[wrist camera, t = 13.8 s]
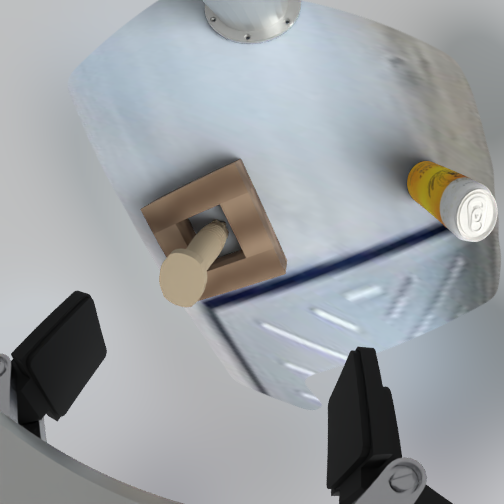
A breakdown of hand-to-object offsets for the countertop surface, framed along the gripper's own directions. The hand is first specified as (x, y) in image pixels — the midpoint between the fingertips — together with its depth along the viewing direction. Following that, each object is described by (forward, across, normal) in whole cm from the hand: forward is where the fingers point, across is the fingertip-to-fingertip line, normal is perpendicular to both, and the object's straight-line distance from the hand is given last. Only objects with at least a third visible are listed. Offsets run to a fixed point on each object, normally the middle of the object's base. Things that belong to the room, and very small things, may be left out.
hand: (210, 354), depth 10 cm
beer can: (+32, -20, -3) cm, 38 cm away
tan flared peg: (+32, +8, +9) cm, 35 cm away
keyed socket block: (+32, +8, +9) cm, 34 cm away
